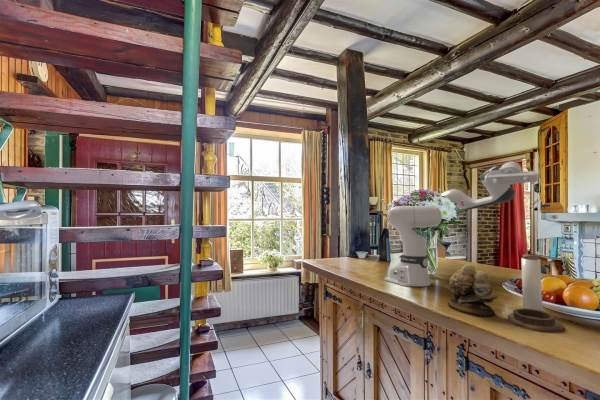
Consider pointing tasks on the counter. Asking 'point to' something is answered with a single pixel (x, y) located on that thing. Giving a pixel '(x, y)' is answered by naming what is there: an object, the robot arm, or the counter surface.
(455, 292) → the owl figurine
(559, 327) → the groove tray
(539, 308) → the off-white tall cylinder
